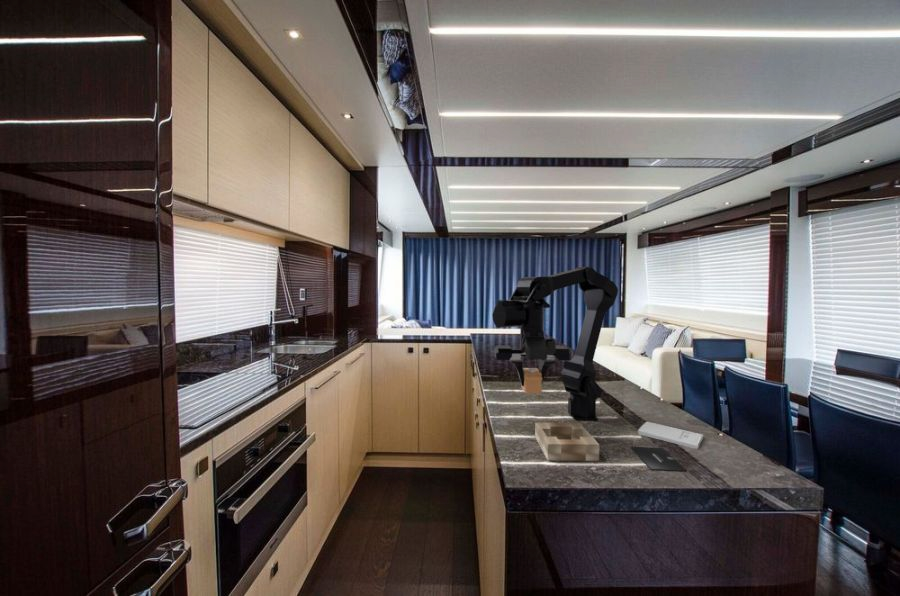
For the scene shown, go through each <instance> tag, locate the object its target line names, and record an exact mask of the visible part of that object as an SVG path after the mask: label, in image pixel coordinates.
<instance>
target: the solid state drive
mask: <svg viewBox="0 0 900 596" xmlns="http://www.w3.org/2000/svg"><path fill="white" fill-rule="evenodd" d="M630 449H631V450H632V451H633V452H634V454H635V455H636V456H637V455H638V456H637V457H638V458H639V459H640V460H641V462H643V464H646V465H647V466H646V465H645V466H646V467H647V468H648V469H649V470H650V471H656V472H657V471H658V472H659V471H660V472H679V473H680V472H682V473H683V472H684V473H686V472H687V469H686V468H685V467H684V466H683V465H682V464H681V463H680V462H678V460H676V459H675V458H674V457H673V456H672V455H671V454H670V453H669V452H667V450H665V449H664V447H652V446H651V447H648V446H630Z"/></svg>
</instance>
